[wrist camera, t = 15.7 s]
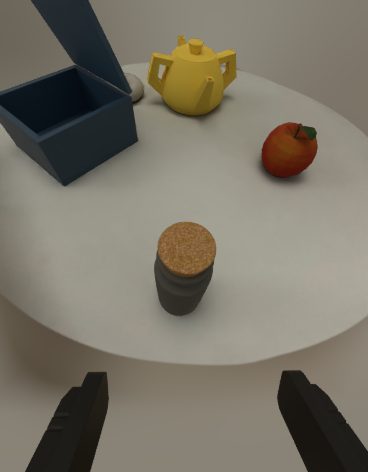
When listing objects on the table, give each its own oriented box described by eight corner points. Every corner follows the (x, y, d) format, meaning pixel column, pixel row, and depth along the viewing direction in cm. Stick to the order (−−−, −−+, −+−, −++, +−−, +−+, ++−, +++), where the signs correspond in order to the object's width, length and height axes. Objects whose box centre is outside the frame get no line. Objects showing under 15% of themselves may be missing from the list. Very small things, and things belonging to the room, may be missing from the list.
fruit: (287, 150, 47) (314, 103, 38) (309, 181, 43) (345, 137, 34) (248, 155, 46) (266, 107, 37) (266, 188, 41) (292, 143, 32)
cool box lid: (39, -82, 19) (76, -122, 20) (-42, -106, 24) (-11, -138, 24) (129, 95, 37) (148, 73, 38) (73, 62, 42) (91, 43, 42)
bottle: (202, 314, 29) (230, 278, 16) (159, 318, 28) (150, 284, 15) (197, 273, 32) (216, 214, 19) (157, 275, 31) (149, 216, 18)
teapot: (145, 104, 53) (139, 42, 42) (178, 77, 60) (181, 19, 50) (205, 128, 49) (215, 67, 39) (233, 96, 57) (247, 38, 47)
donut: (116, 111, 51) (151, 99, 54) (112, 95, 48) (150, 83, 51) (97, 91, 54) (132, 81, 58) (93, 76, 51) (130, 66, 55)
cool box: (64, 186, 38) (37, 142, 30) (16, 145, 43) (-18, 97, 35) (137, 140, 46) (131, 96, 38) (90, 109, 50) (76, 64, 42)
